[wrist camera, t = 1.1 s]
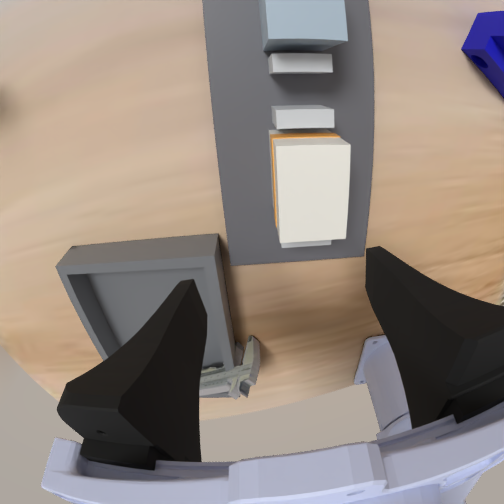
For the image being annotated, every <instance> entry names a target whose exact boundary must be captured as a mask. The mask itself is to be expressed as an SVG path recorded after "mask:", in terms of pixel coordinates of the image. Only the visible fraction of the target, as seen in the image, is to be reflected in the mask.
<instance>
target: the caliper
mask: <svg viewBox="0 0 504 504" xmlns="http://www.w3.org/2000/svg"><path fill="white" fill-rule="evenodd" d="M243 349H244V347H243V346H242V345H241V344H240V343H239V342H236V343H235V367H234V369H232V370H229V371H227V372H226V370H225V365H224V363H223V365H222V367H219V368H217V367H211V366H209V367H207V368H205V369H202V371H201V378H200V389H199V396H203V395H209V394H216V393H222V392H227V391H229V393H228V395H229V396H231V397H233V398H234V399H237V398H238V397H239V395H240V394H242V395H244V396H245V397H247V398H248V393H249V389H250V386H252V385H256V381H257V377H258V372H259V368H260V346H259V341H257V340H256V339H255V338H254V337H253V336H249V337H248V341H247V346H246V349H245V353H244V357H243V361H242V365H240V364H241V360H242V356H243Z"/></svg>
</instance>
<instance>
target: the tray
mask: <svg viewBox="0 0 504 504" xmlns="http://www.w3.org/2000/svg"><path fill="white" fill-rule="evenodd" d="M55 267H56V269H57V271H58V274H59V276H60V278H61V280H62V283H63V285H64V287H65V289H66V291H67V293H68V296H69V298H70V300H71V302H72V304H73V306H74V308H75V310H76V312H77V314H78V316H79V318H80V320H81V322H82V323H83V325H84V327H85V329H86V331H87V333H88V335H89V336H90V338H91V340H92V342H93V344H94V345H95V347H96V349H97V350H98V352H99V354H100V356H101V357H102V359H103V361H104V360H106V359H107V358H108V357H110V356H111V355H112V354H113V353H115V352H116V351H117V350H118V349H119V348H121V347H122V346H123V345H124V344H125V343H126V342H128V341H129V340H130V339H131V338H132V337H133V336H134V335H135V334H136V333H137V332H138V331H139V330H140V329H141V328H142V327H143V325H144V324H145V323H146V322H147V321H148V320H149V319H150V317H151V316H152V315H153V314H154V313H155V312H156V310H157V309H158V308H159V307H160V305H161V304H162V303H163V302H164V300H165V299H166V298H167V297H168V295H169V294H170V293H171V292H172V290H173V289H174V288H175V286H176V285H177V284H178V283H179V282H180V281H183V280H189V279H194V281H195V283H196V286H197V289H198V291H199V294H200V296H201V299H202V302H203V304H204V307H205V309H206V312H207V314H208V317H207V339H206V346H205V352H204V359H203V365H202V369H205V368H207V367H209V366H211V367H217V368H219V367H222V365H223V363H224V365H225V370H226V372H227V371H229V370H232V369H234V367H235V339H234V333H233V327H232V321H231V315H230V309H229V302H228V296H227V290H226V283H225V277H224V270H223V263H222V257H221V250H220V243H219V236H218V234H205V235H192V236H180V237H168V238H156V239H145V240H133V241H122V242H112V243H101V244H91V245H81V246H72V247H71V248H70V249H69V250H68V252H67V253H66V254H65V255H64V256H63V258H62V259H61V260H60V261H59V263H58V264H57V265H56V266H55ZM228 393H229V391H227V392H222V393H216V394H209V395H203V396H199V397H203V398H219V397H231V396H229V395H228ZM239 397H240V395H239Z"/></svg>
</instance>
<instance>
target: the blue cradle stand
mask: <svg viewBox="0 0 504 504" xmlns="http://www.w3.org/2000/svg"><path fill="white" fill-rule="evenodd" d="M461 50H462V51H463V52H464V53H465V54H466V55H467V56H468V57H469V58H470V59H471V60H472V61H473V62H474V63H475V64H476V65H477V67H478V68H479V69H480V70H481V71H482V72H483V73H484V74H485V76H486V77H487V78H488V79H489V80H490V82H491V83H492V84H493V85H494V86H495V88H496V89H497V90H498V91H499V93H500V94H501V95H502V97H503V98H504V11H495V12H484V13H478V14H477V16H476V19H475V21H474V23H473V25H472V27H471V30H470V32H469V34H468V36H467V38H466V40H465V42H464V44H463V47H462V49H461Z"/></svg>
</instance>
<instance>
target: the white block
mask: <svg viewBox="0 0 504 504" xmlns="http://www.w3.org/2000/svg"><path fill="white" fill-rule="evenodd" d="M269 142H270V159H271V177H272V197H273V208H274V219H275V224H276V227H277V230H278V235H279V241H280V243H289V242H304V241H320V240H335V239H346V229H347V216H348V200H349V181H350V151H351V145H350V144H349V143H347V142H346V141H344V140H343V139H341V138H340V136H339V135H337V134H336V133H332V132H330V131H329V130H327V129H282V130H269Z"/></svg>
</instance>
